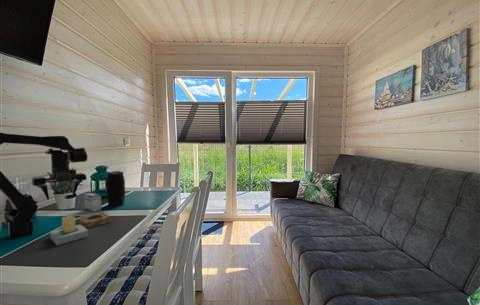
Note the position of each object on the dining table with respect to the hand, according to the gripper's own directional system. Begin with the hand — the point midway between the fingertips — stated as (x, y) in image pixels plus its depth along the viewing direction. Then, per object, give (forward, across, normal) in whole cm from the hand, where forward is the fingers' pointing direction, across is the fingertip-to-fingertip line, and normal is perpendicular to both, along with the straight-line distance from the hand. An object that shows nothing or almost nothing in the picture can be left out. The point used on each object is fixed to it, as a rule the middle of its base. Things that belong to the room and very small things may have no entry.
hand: (61, 197), depth 102 cm
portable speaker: (+12, +28, +12) cm, 33 cm away
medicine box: (+12, +16, +12) cm, 23 cm away
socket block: (+12, -2, -20) cm, 23 cm away
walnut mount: (+12, +10, -10) cm, 19 cm away
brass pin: (+12, -2, -20) cm, 23 cm away
